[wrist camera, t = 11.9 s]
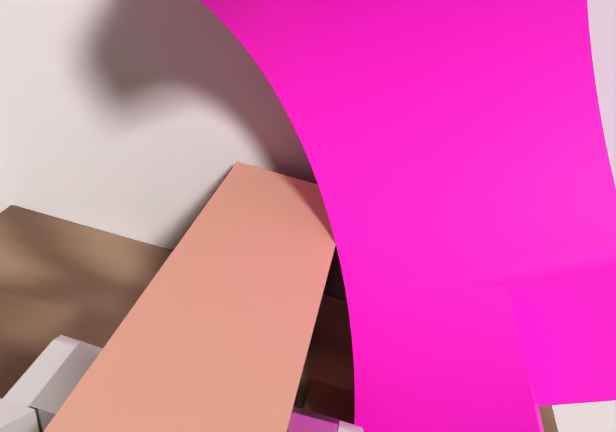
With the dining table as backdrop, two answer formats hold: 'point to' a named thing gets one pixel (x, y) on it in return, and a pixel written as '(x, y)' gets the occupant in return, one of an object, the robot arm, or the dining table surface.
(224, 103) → the dining table surface
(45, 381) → the robot arm
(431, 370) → the toy block
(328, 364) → the walnut rail
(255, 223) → the tan notched block
